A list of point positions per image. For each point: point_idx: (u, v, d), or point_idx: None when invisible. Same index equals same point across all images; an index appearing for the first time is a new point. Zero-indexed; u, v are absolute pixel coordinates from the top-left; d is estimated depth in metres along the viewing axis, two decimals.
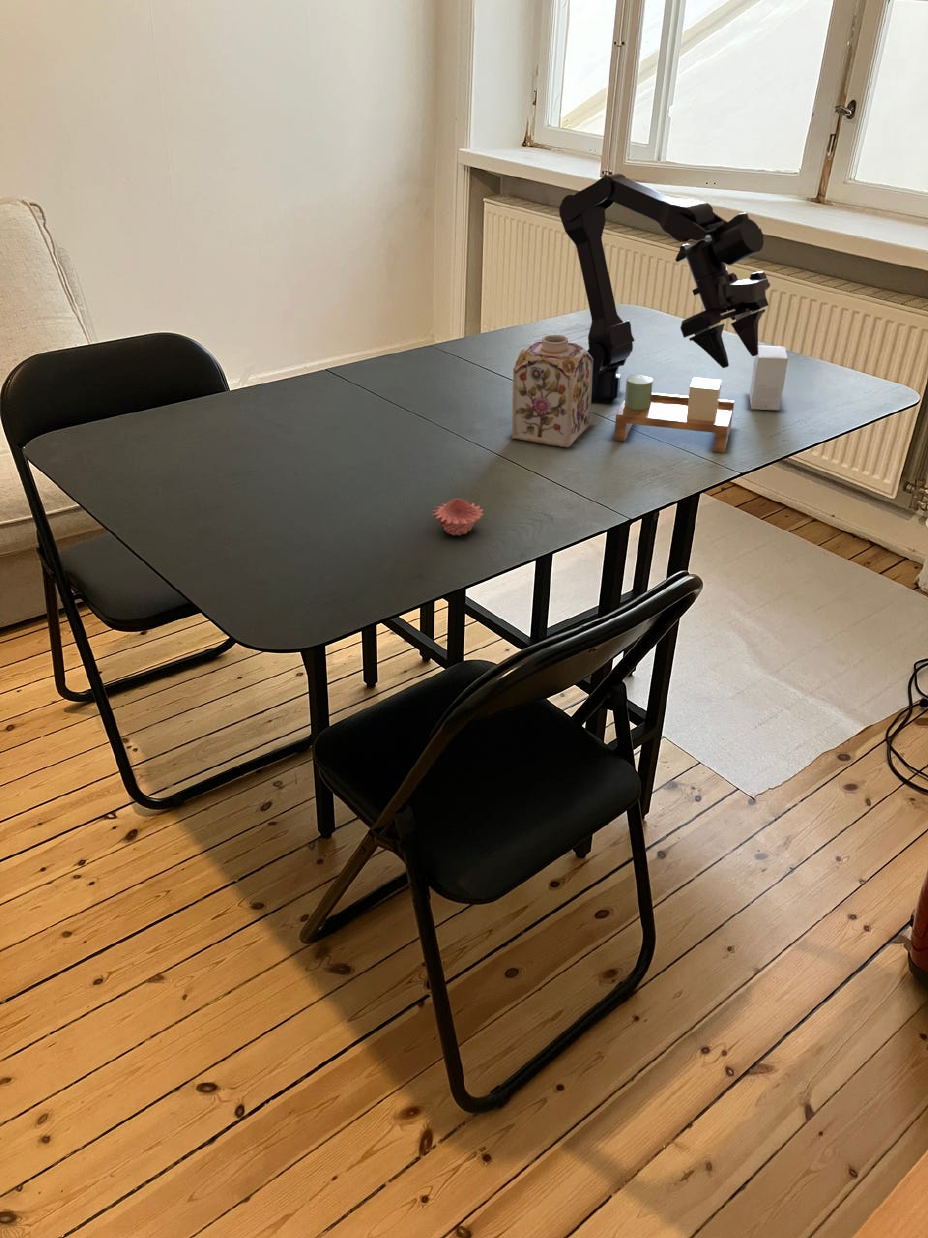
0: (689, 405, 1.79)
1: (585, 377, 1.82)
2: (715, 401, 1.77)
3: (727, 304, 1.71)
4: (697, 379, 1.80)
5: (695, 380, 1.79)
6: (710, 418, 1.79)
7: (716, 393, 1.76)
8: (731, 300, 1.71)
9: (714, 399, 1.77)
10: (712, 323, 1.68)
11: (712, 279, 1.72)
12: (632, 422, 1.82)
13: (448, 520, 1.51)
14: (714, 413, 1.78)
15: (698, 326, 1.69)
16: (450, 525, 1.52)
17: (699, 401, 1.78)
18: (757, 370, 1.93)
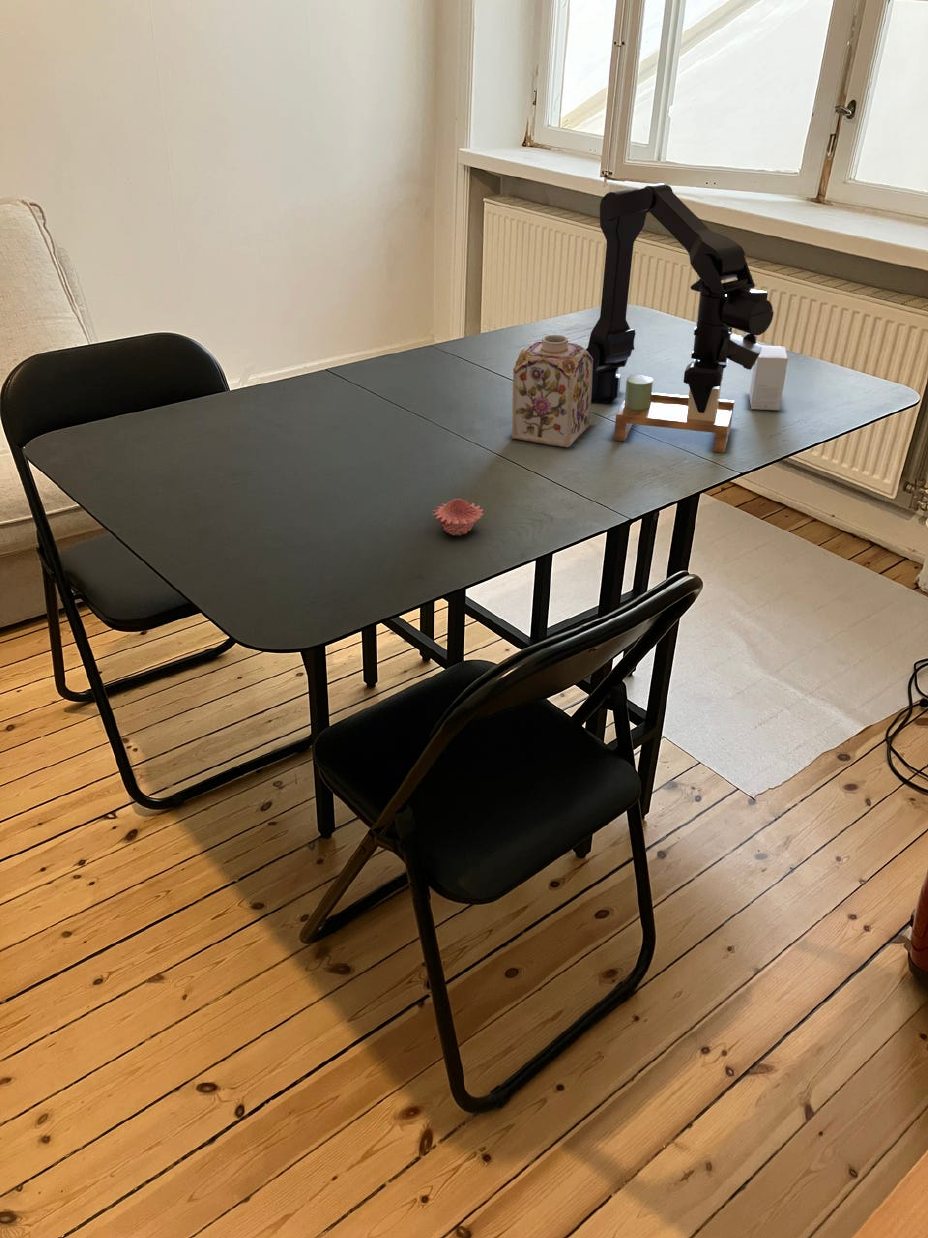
0: (689, 405, 1.79)
1: (585, 377, 1.82)
2: (715, 401, 1.77)
3: (725, 360, 1.73)
4: None
5: None
6: (710, 418, 1.79)
7: (716, 393, 1.76)
8: (730, 358, 1.72)
9: (714, 399, 1.77)
10: (720, 383, 1.69)
11: (721, 330, 1.71)
12: (632, 422, 1.82)
13: (448, 520, 1.51)
14: (714, 413, 1.78)
15: (707, 381, 1.69)
16: (450, 525, 1.52)
17: None
18: (757, 370, 1.93)
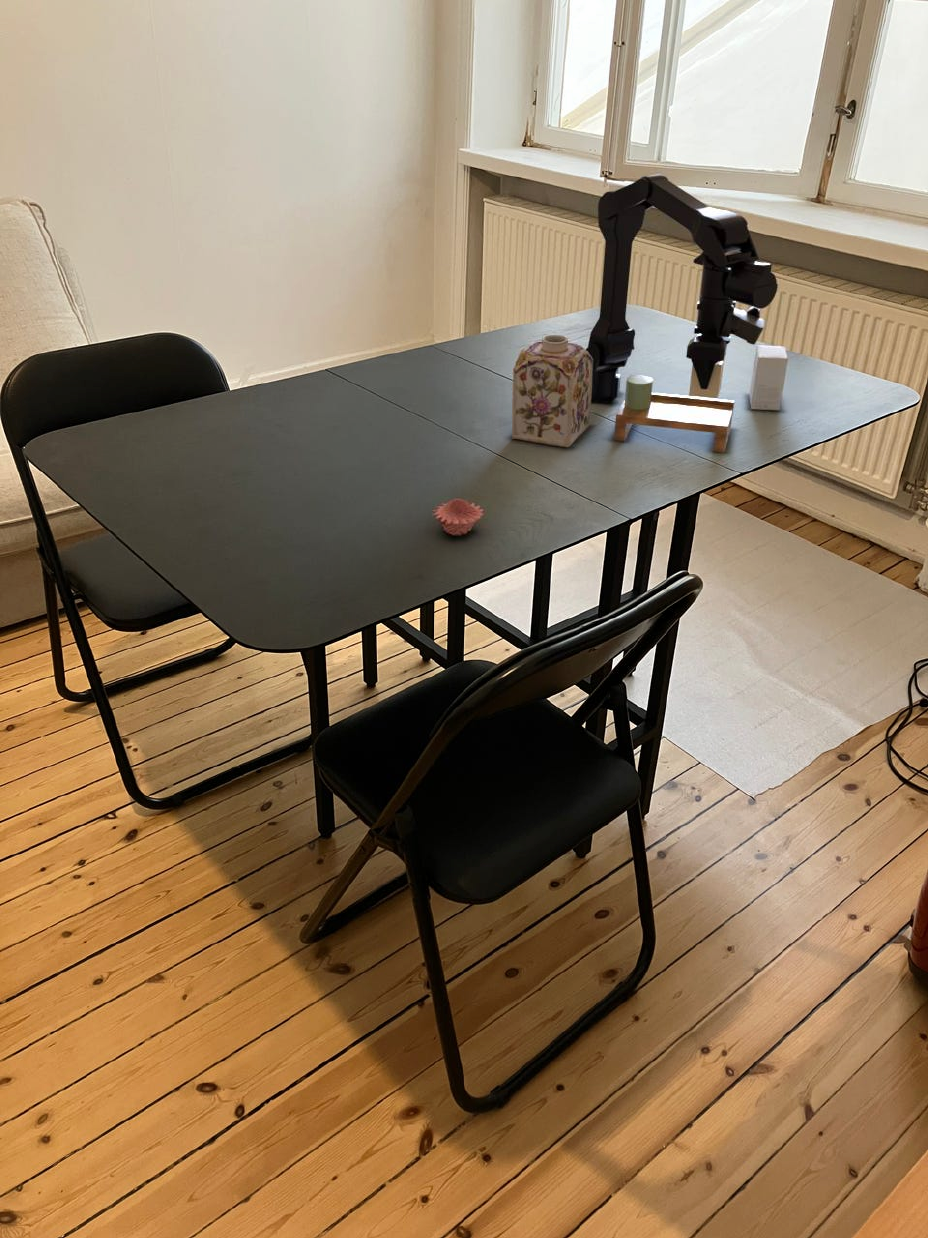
0: (692, 382, 1.76)
1: (585, 377, 1.82)
2: (718, 377, 1.75)
3: (729, 335, 1.70)
4: None
5: None
6: (713, 394, 1.76)
7: (719, 369, 1.74)
8: (734, 333, 1.70)
9: (717, 375, 1.75)
10: (723, 358, 1.67)
11: (724, 304, 1.68)
12: (632, 422, 1.82)
13: (448, 520, 1.51)
14: (717, 389, 1.76)
15: (710, 356, 1.66)
16: (450, 525, 1.52)
17: None
18: (757, 370, 1.93)
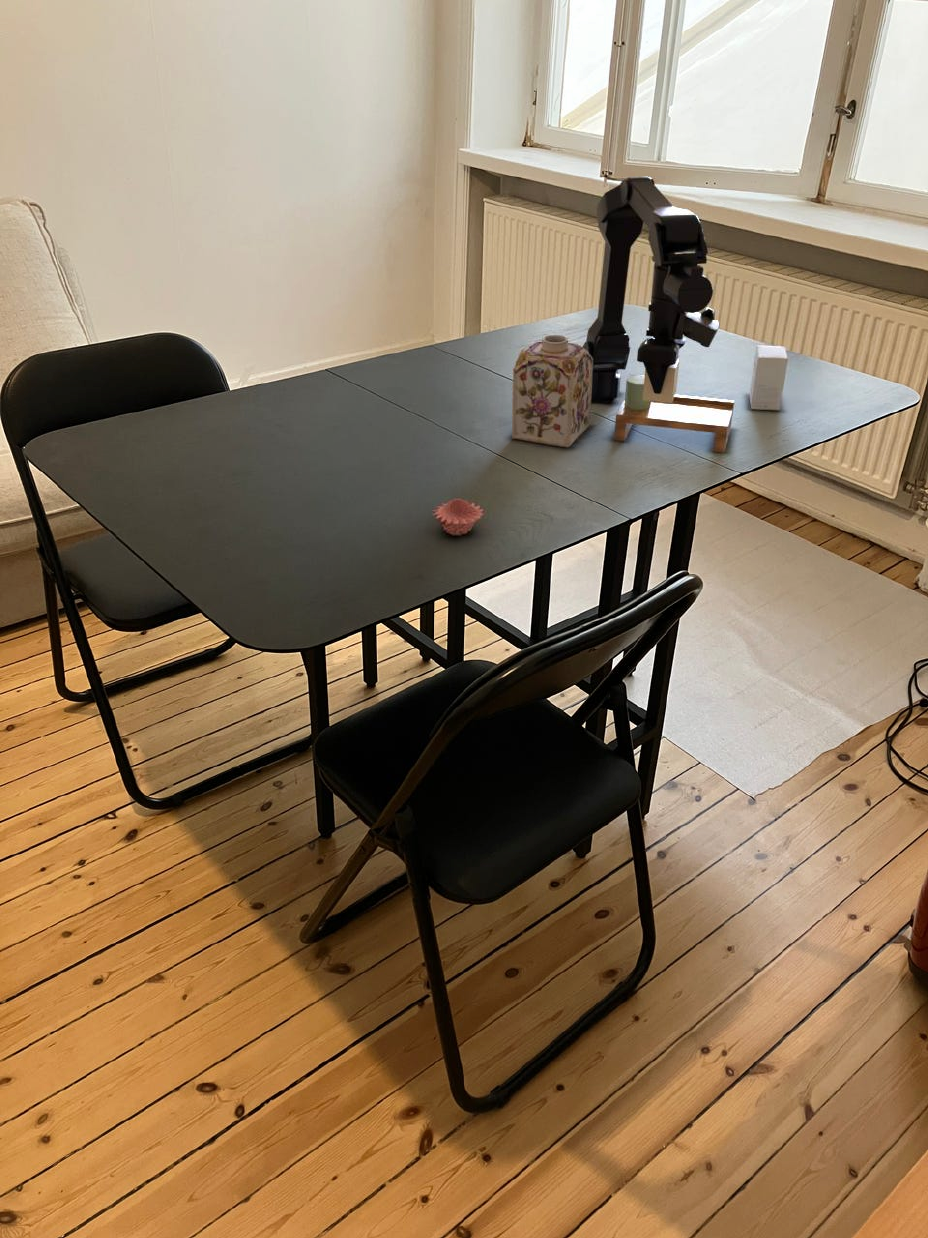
0: (645, 386, 1.70)
1: (585, 377, 1.82)
2: (672, 381, 1.68)
3: (682, 338, 1.63)
4: None
5: None
6: (668, 399, 1.70)
7: (673, 372, 1.67)
8: (687, 335, 1.63)
9: (671, 379, 1.68)
10: (675, 362, 1.60)
11: (676, 306, 1.62)
12: (632, 422, 1.82)
13: (448, 520, 1.51)
14: (671, 394, 1.69)
15: (661, 359, 1.60)
16: (450, 525, 1.52)
17: None
18: (757, 370, 1.93)
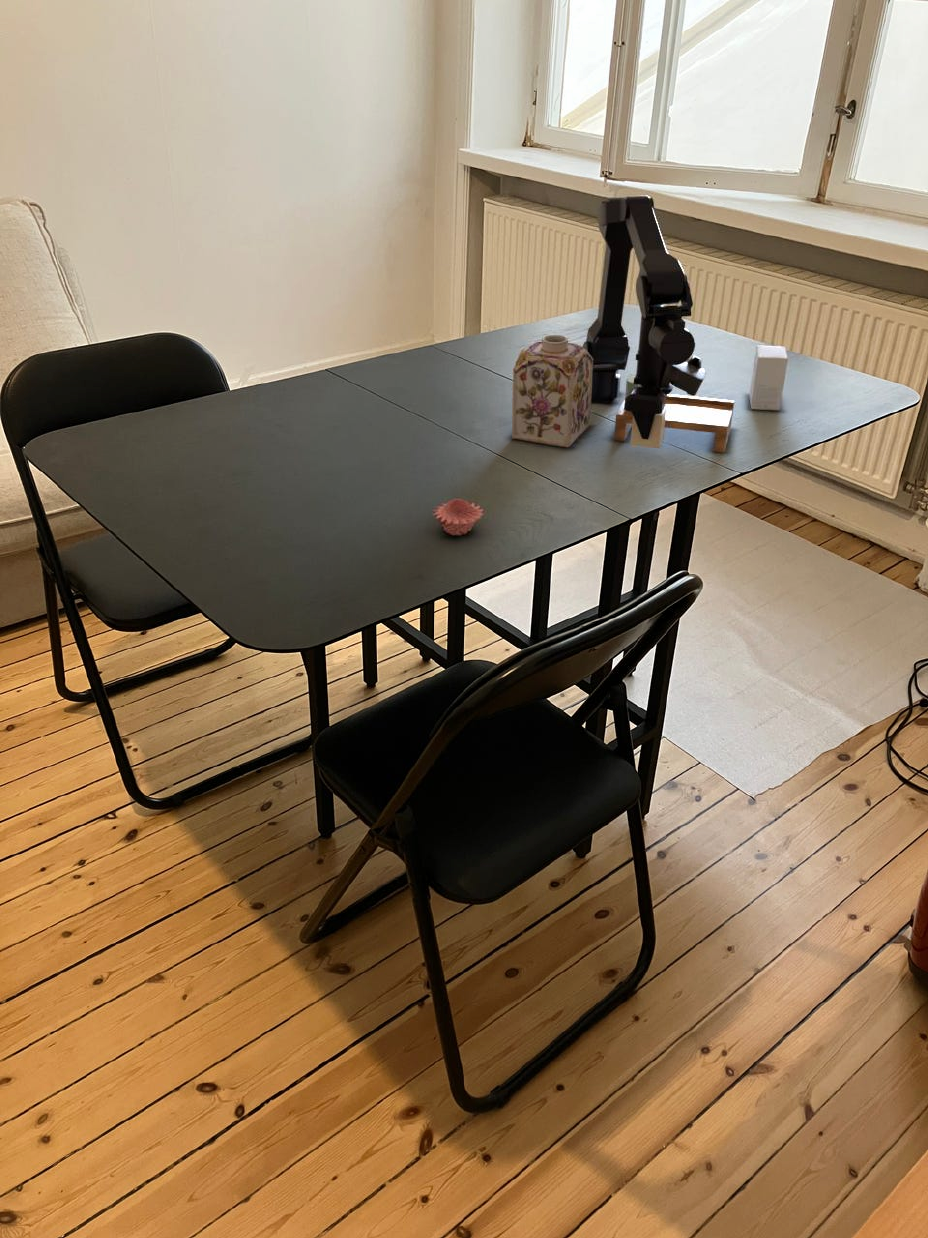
0: (633, 431, 1.73)
1: (585, 377, 1.82)
2: (659, 427, 1.71)
3: (668, 386, 1.67)
4: None
5: None
6: (655, 445, 1.73)
7: (660, 419, 1.71)
8: (673, 384, 1.67)
9: (658, 425, 1.71)
10: None
11: None
12: None
13: (448, 520, 1.51)
14: (659, 440, 1.73)
15: (648, 408, 1.63)
16: (450, 525, 1.52)
17: None
18: (757, 370, 1.93)
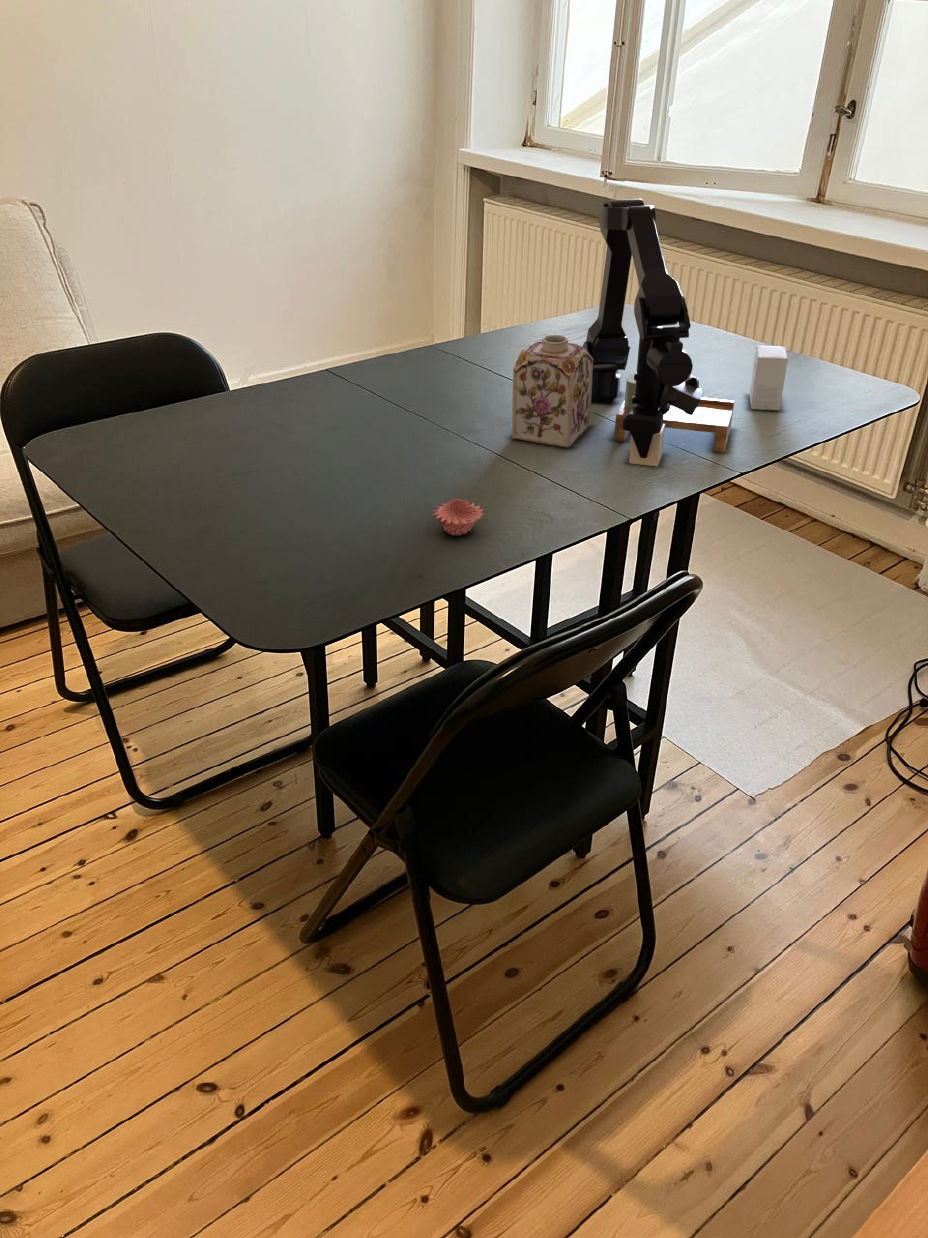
0: (632, 450, 1.75)
1: (585, 377, 1.82)
2: (657, 446, 1.73)
3: (666, 406, 1.69)
4: None
5: None
6: (653, 463, 1.75)
7: (658, 438, 1.72)
8: (671, 404, 1.69)
9: (656, 444, 1.73)
10: None
11: None
12: None
13: (448, 520, 1.51)
14: (657, 458, 1.74)
15: (646, 428, 1.65)
16: (450, 525, 1.52)
17: None
18: (757, 370, 1.93)
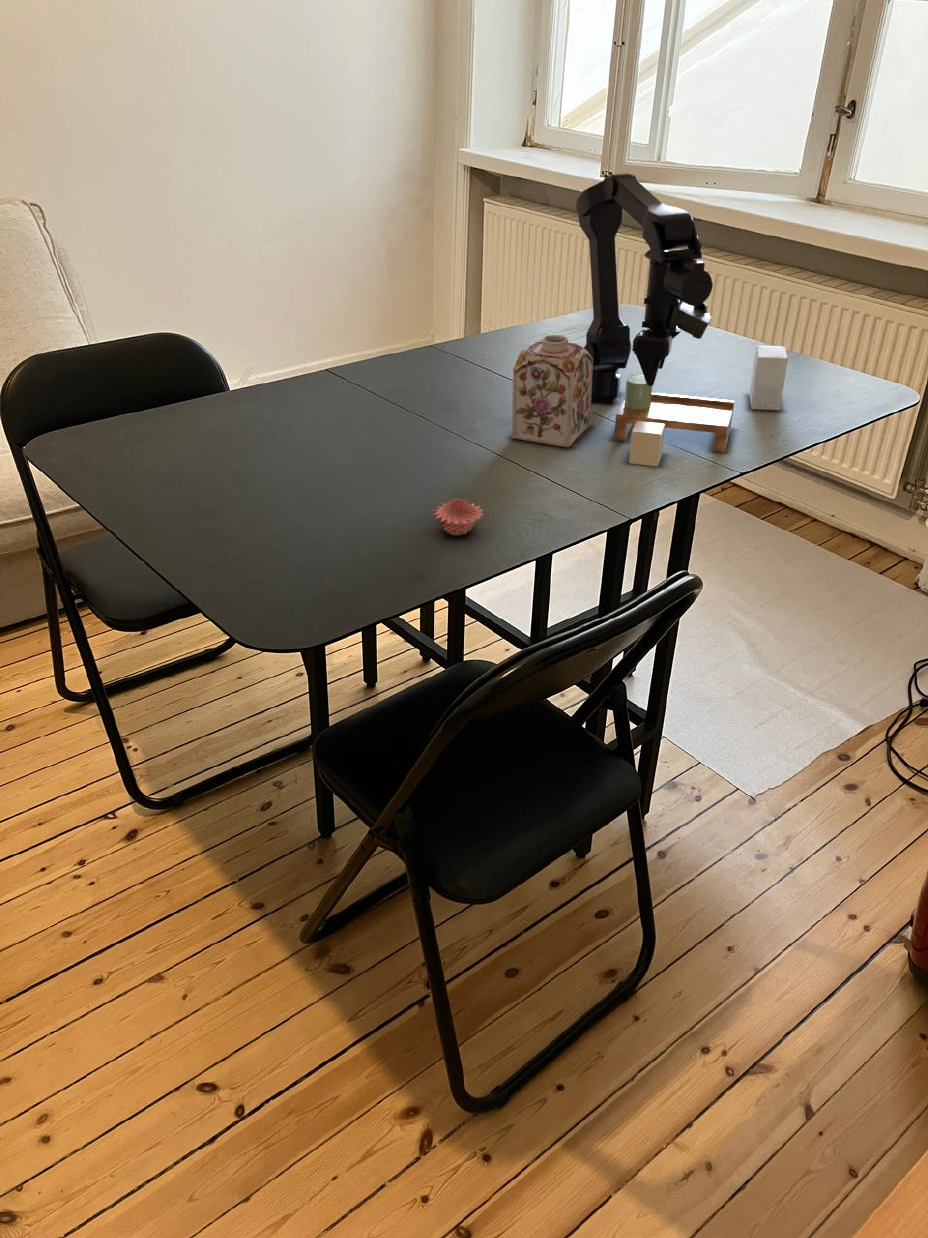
0: (632, 450, 1.75)
1: (585, 377, 1.82)
2: (657, 446, 1.73)
3: (675, 329, 1.74)
4: (640, 423, 1.76)
5: (637, 424, 1.76)
6: (653, 463, 1.75)
7: (658, 438, 1.72)
8: (680, 327, 1.74)
9: (656, 444, 1.73)
10: (668, 352, 1.71)
11: (670, 299, 1.72)
12: (632, 422, 1.82)
13: (448, 520, 1.51)
14: (657, 458, 1.74)
15: (655, 349, 1.70)
16: (450, 525, 1.52)
17: (641, 446, 1.74)
18: (757, 370, 1.93)
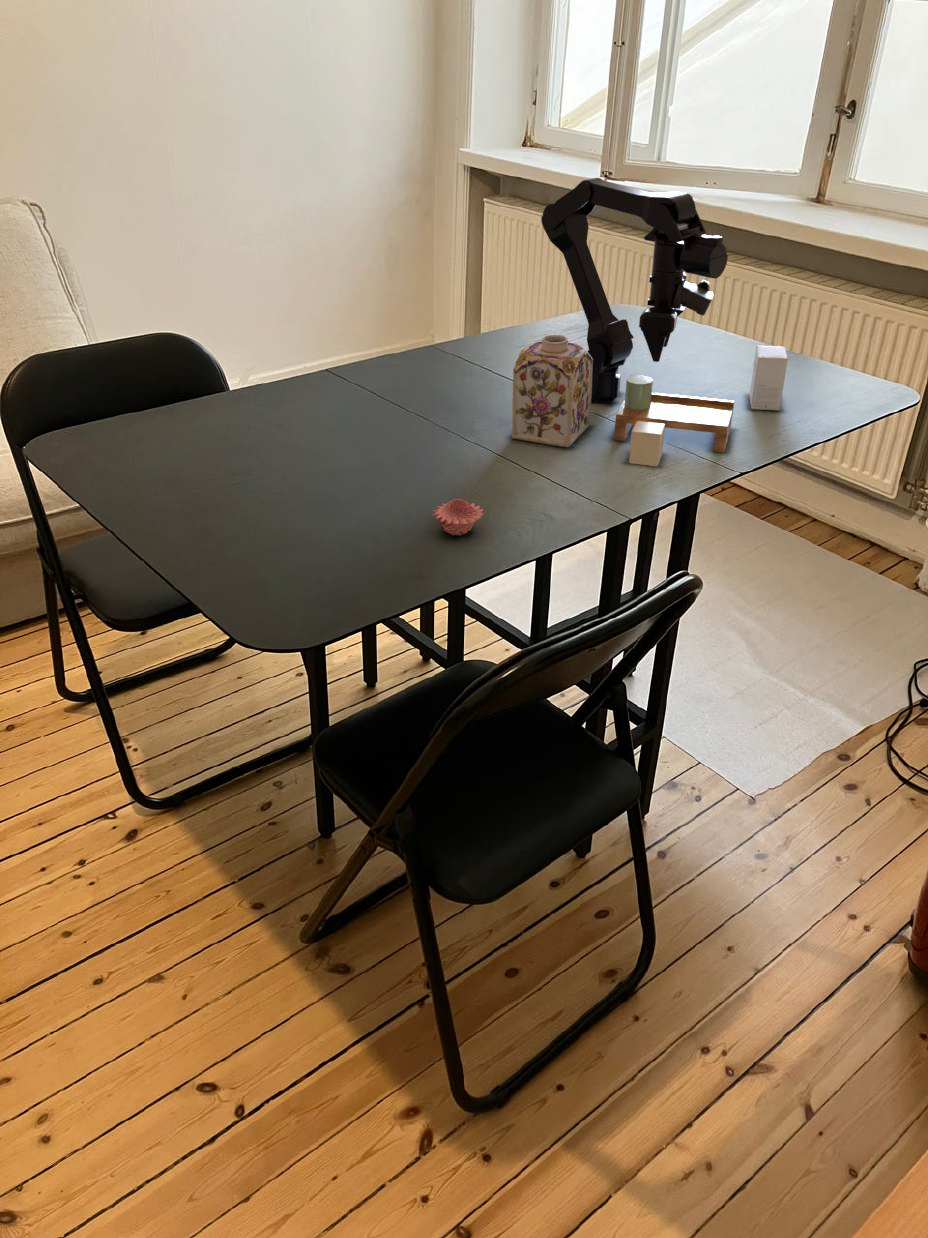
0: (632, 450, 1.75)
1: (585, 377, 1.82)
2: (657, 446, 1.73)
3: (679, 307, 1.81)
4: (640, 423, 1.76)
5: (637, 424, 1.76)
6: (653, 463, 1.75)
7: (658, 438, 1.72)
8: (684, 304, 1.81)
9: (656, 444, 1.73)
10: (674, 328, 1.78)
11: (675, 277, 1.79)
12: (632, 422, 1.82)
13: (448, 520, 1.51)
14: (657, 458, 1.74)
15: (661, 325, 1.77)
16: (450, 525, 1.52)
17: (641, 446, 1.74)
18: (757, 370, 1.93)
